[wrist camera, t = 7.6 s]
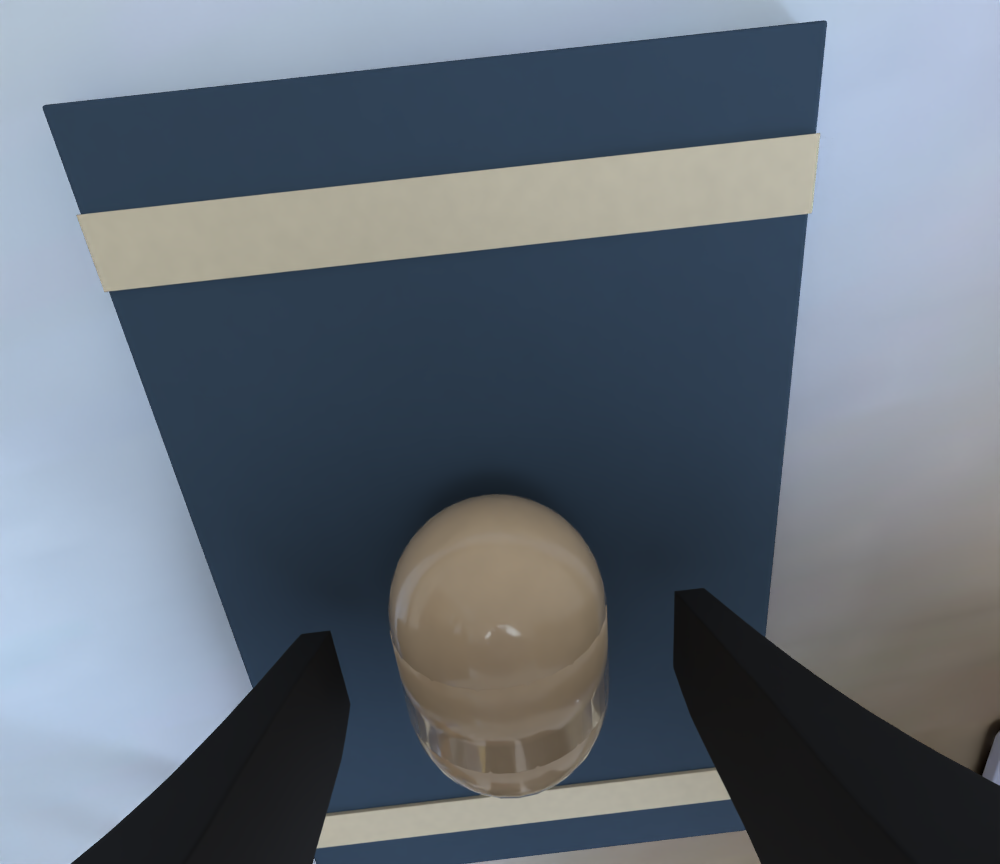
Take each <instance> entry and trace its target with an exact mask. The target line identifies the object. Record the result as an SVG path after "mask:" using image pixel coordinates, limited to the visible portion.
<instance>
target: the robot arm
mask: <svg viewBox="0 0 1000 864" xmlns="http://www.w3.org/2000/svg"><path fill="white" fill-rule="evenodd" d="M673 668H674V671H675V674H676V677H677V680H678V683H679V686H680V689H681V692H682V694H683V697H684V700H685V702H686V705H687V708H688V711H689V713H690V716H691V718H692V720H693V722H694V725H695V727H696V729H697V731H698V733H699V735H700V737H701V739H702V741H703V743H704V745H705V747H706V749H707V752H708V754H709V756H710V758H711V760H712V762H713V764H714V766H715V768H716V770H717V772H718V774H719V776H720V778H721V780H722V782H723V784H724V786H725V788H726V790H727V792H728V794H729V796H730V798H731V800H732V802H733V805H734V807H735V809H736V811H737V813H738V815H739V817H740V819H741V821H742V823H743V825H744V827H745V829H746V831H747V833H748V835H749V837H750V839H751V842H752V844H753V846H754V848H755V851H756V853H757V855H758V857H759V860H760V862H761V864H1000V731H999V732H998V733H997V734H996V736H995V739H994V742H993V745H992V748H991V751H990V754H989V757H988V760H987V763H986V766H985V769H984V772H983V775H982V776H981V775H979V774H977V773H975V772H973V771H971V770H970V769H968V768H966V767H964V766H962V765H960V764H958V763H957V762H955V761H953V760H951V759H949V758H947V757H945V756H944V755H942V754H940V753H938V752H936V751H935V750H933V749H931V748H929V747H928V746H926V745H924V744H922V743H921V742H919V741H917V740H916V739H914V738H912V737H910V736H909V735H907V734H906V733H904V732H902V731H901V730H899V729H897V728H896V727H894V726H892V725H891V724H889V723H888V722H886V721H884V720H883V719H881V718H879V717H878V716H876V715H874V714H873V713H871V712H870V711H868V710H866V709H865V708H863V707H862V706H860V705H859V704H857V703H856V702H854V701H853V700H851V699H850V698H848V697H847V696H845V695H844V694H842V693H841V692H839V691H838V690H836V689H835V688H834V687H832V686H831V685H829V684H828V683H826V682H825V681H823V680H822V679H821V678H819V677H818V676H816V675H815V674H813V673H812V672H811V671H809V670H808V669H806V668H805V667H804V666H802V665H801V664H800V663H798V662H797V661H795V660H794V659H793V658H791V657H790V656H789V655H787V654H786V653H785V652H784V651H782V650H781V649H780V648H778V647H777V646H776V645H774V644H773V643H772V642H770V641H769V640H768V639H767V638H765V637H764V636H763V635H761V634H760V633H759V632H758V631H756V630H755V629H754V628H753V627H751V626H750V625H749V624H748V623H746V622H745V621H744V620H743V619H742V618H740V617H739V616H738V615H737V614H735V613H734V612H733V611H732V610H730V609H729V608H728V607H727V606H726V605H724V604H723V603H722V602H721V601H719V600H718V599H717V598H716V597H714V596H713V595H712V594H711V593H710V592H708V591H707V590H706V589H704V588H698V589H689V590H681V591H675V593H674V643H673ZM350 705H351V704H350V700H349V696H348V693H347V689H346V685H345V682H344V678H343V675H342V671H341V667H340V664H339V660H338V657H337V653H336V649H335V646H334V642H333V638H332V635H331V631H322V632H314V633H305V634H301V635H300V636H299V637H298V638H297V639H296V640H295V641H294V642H293V644H292V645H291V646H290V647H289V648H288V649H287V650H286V652H285V653H284V654H283V655H282V656H281V657H280V658H279V660H278V661H277V662H276V663H275V664H274V665H273V666H272V668H271V669H270V670H269V671H268V672H267V673H266V674H265V676H264V677H263V678H262V679H261V680H260V681H259V682H258V683H257V685H256V686H255V687H254V688H253V689H252V690H251V691H250V693H249V694H248V695H247V696H246V697H245V698H244V699H243V700H242V701H241V703H240V704H239V705H238V706H237V707H236V708H235V709H234V710H233V711H232V712H231V714H230V715H229V716H228V717H227V718H226V719H225V720H224V721H223V722H222V723H221V724H220V725H219V726H218V727H217V729H216V730H215V731H214V732H213V733H212V734H211V735H210V736H209V737H208V738H207V739H206V740H205V741H204V742H203V743H202V744H201V745H200V746H199V747H198V748H197V749H196V750H195V751H194V752H193V753H192V754H191V755H190V756H189V757H188V758H187V759H186V760H185V762H184V763H183V764H182V765H181V766H180V767H179V768H178V769H177V770H176V771H175V772H174V773H173V774H172V775H171V776H169V777H168V778H167V779H166V780H165V781H164V782H163V783H162V784H161V785H160V786H159V787H158V788H157V789H156V790H155V791H154V792H153V793H152V794H151V795H150V796H148V797H147V798H146V799H145V800H144V801H143V802H142V803H141V804H140V805H139V806H137V807H136V808H135V809H134V810H133V811H132V812H131V813H130V814H129V815H127V816H126V817H125V818H124V819H123V820H122V821H121V822H120V823H119V824H118V825H116V826H115V827H114V828H113V829H112V830H111V831H110V832H108V833H107V834H106V835H105V836H104V837H103V838H101V839H100V840H99V841H98V842H97V843H95V844H94V845H93V846H92V847H91V848H89V849H88V850H87V851H86V852H84V853H83V854H82V855H81V856H80V857H78V858H77V859H76V860H75V861H74V862H72V863H71V864H312V863H313V859H314V856H315V852H316V849H317V845H318V842H319V838H320V835H321V831H322V828H323V824H324V821H325V817H326V814H327V810H328V807H329V803H330V799H331V796H332V792H333V789H334V785H335V781H336V778H337V774H338V771H339V767H340V763H341V759H342V755H343V749H344V743H345V738H346V732H347V725H348V719H349V712H350Z"/></svg>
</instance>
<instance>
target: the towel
mask: <svg viewBox="0 0 1000 864" xmlns="http://www.w3.org/2000/svg"><path fill="white" fill-rule="evenodd" d="M826 27H827V22H826V21H815V22H806V23H796V24H787V25H778V26H769V27H759V28H750V29H741V30H732V31H723V32H713V33H704V34H695V35H686V36H677V37H667V38H658V39H649V40H640V41H630V42H621V43H612V44H603V45H594V46H584V47H575V48H566V49H557V50H548V51H538V52H529V53H520V54H511V55H502V56H492V57H483V58H474V59H465V60H455V61H446V62H437V63H428V64H419V65H409V66H400V67H391V68H382V69H373V70H363V71H354V72H345V73H336V74H327V75H317V76H308V77H299V78H290V79H280V80H271V81H262V82H253V83H244V84H234V85H225V86H216V87H207V88H198V89H188V90H179V91H170V92H161V93H151V94H142V95H133V96H124V97H115V98H105V99H96V100H87V101H78V102H69V103H59V104H50V105H44V106H43V111H44V113H45V116H46V119H47V122H48V124H49V127H50V130H51V133H52V135H53V138H54V141H55V144H56V146H57V149H58V152H59V155H60V157H61V160H62V163H63V166H64V169H65V171H66V174H67V177H68V180H69V182H70V185H71V188H72V191H73V193H74V196H75V199H76V202H77V204H78V207H79V210H80V213H81V214H80V215H77V218H78V221H79V224H80V226H81V229H82V232H83V234H84V237H85V240H86V243H87V245H88V248H89V251H90V254H91V256H92V259H93V262H94V265H95V267H96V270H97V273H98V276H99V278H100V281H101V284H102V286H103V289H104V292H109V293H110V295H111V298H112V301H113V304H114V306H115V309H116V312H117V315H118V318H119V320H120V323H121V326H122V329H123V331H124V334H125V337H126V340H127V342H128V345H129V348H130V351H131V353H132V356H133V359H134V362H135V364H136V367H137V370H138V373H139V375H140V378H141V381H142V384H143V387H144V389H145V392H146V395H147V398H148V400H149V403H150V406H151V409H152V411H153V414H154V417H155V420H156V422H157V425H158V428H159V431H160V433H161V436H162V439H163V442H164V444H165V447H166V450H167V453H168V456H169V458H170V461H171V464H172V467H173V469H174V472H175V475H176V478H177V480H178V483H179V486H180V489H181V491H182V494H183V497H184V500H185V502H186V505H187V508H188V511H189V513H190V516H191V519H192V522H193V524H194V527H195V530H196V533H197V536H198V538H199V541H200V544H201V547H202V549H203V552H204V555H205V558H206V560H207V563H208V566H209V569H210V571H211V574H212V577H213V580H214V582H215V585H216V588H217V591H218V593H219V596H220V599H221V602H222V605H223V607H224V610H225V613H226V616H227V618H228V621H229V624H230V627H231V629H232V632H233V635H234V638H235V640H236V643H237V646H238V649H239V651H240V654H241V657H242V660H243V662H244V665H245V668H246V671H247V674H248V676H249V679H250V682H251V685H252V687H253V688H254V687H255V686H256V685H257V683H258V682H259V681H260V680H261V679H262V678H263V677H264V676H265V674H266V673H267V672H268V671H269V670H270V669H271V668H272V666H273V665H274V664H275V663H276V662H277V661H278V660H279V658H280V657H281V656H282V655H283V654H284V653H285V652H286V650H287V649H288V648H289V647H290V646H291V645H292V644H293V642H294V641H295V640H296V639H297V638H298V637H299V636H300V635H301V634H305V633H314V632H322V631H331V635H332V638H333V642H334V646H335V649H336V653H337V657H338V660H339V664H340V667H341V671H342V675H343V678H344V682H345V685H346V689H347V693H348V696H349V700H350V704H351V705H350V712H349V719H348V725H347V732H346V738H345V743H344V749H343V755H342V759H341V763H340V767H339V771H338V774H337V778H336V781H335V785H334V789H333V792H332V796H331V799H330V803H329V807H328V810H327V814H326V817H325V821H324V824H323V828H322V831H321V835H320V838H319V842H318V845H317V849H316V852H315V856H314V858H315V861H316V864H466V863H475V862H483V861H492V860H500V859H508V858H517V857H525V856H533V855H542V854H550V853H559V852H567V851H575V850H584V849H592V848H600V847H609V846H617V845H626V844H634V843H642V842H651V841H659V840H668V839H676V838H684V837H693V836H701V835H709V834H718V833H726V832H735V831H743V830H746V829H745V827H744V825H743V823H742V821H741V819H740V817H739V815H738V813H737V811H736V809H735V807H734V805H733V802H732V800H731V798H730V796H729V794H728V792H727V790H726V788H725V786H724V784H723V782H722V780H721V778H720V776H719V774H718V772H717V770H716V768H715V766H714V764H713V762H712V760H711V758H710V756H709V754H708V752H707V749H706V747H705V745H704V743H703V741H702V739H701V737H700V735H699V733H698V731H697V729H696V727H695V725H694V722H693V720H692V718H691V716H690V713H689V711H688V708H687V705H686V702H685V700H684V697H683V694H682V692H681V689H680V686H679V683H678V680H677V677H676V674H675V671H674V668H673V643H674V593H675V591H681V590H689V589H698V588H704V589H706V590H707V591H708V592H710V593H711V594H712V595H713V596H714V597H716V598H717V599H718V600H719V601H721V602H722V603H723V604H724V605H726V606H727V607H728V608H729V609H730V610H732V611H733V612H734V613H735V614H737V615H738V616H739V617H740V618H742V619H743V620H744V621H745V622H746V623H748V624H749V625H750V626H751V627H753V628H754V629H755V630H756V631H758V632H759V633H760V634H761V635H763V636H764V637H765V635H766V625H767V615H768V605H769V595H770V585H771V575H772V565H773V555H774V545H775V535H776V525H777V515H778V505H779V495H780V485H781V475H782V465H783V455H784V445H785V435H786V426H787V416H788V406H789V396H790V386H791V376H792V366H793V356H794V346H795V336H796V326H797V316H798V306H799V296H800V286H801V276H802V266H803V256H804V246H805V236H806V226H807V217H808V214H811V213H812V208H813V198H814V188H815V178H816V169H817V159H818V149H819V140H820V133H816V127H817V117H818V107H819V97H820V87H821V77H822V67H823V57H824V47H825V37H826ZM486 494H510V495H518V496H522V497H526V498H529V499H531V500H534V501H536V502H538V503H541V504H543V505H545V506H548V507H550V508H551V509H553V510H554V511H556V512H557V513H559V514H560V515H561V516H562V517H564V518H565V519H566V520H567V521H568V522H570V523H571V524H572V525H573V526H574V527H575V528H576V529H577V530H578V532H579V533H580V534H581V536H582V537H583V538H584V540H585V541H586V542H587V544H588V545H589V547H590V549H591V551H592V552H593V554H594V556H595V559H596V561H597V563H598V566H599V568H600V570H601V574H602V578H603V583H604V589H605V595H606V601H607V625H608V652H609V679H610V688H609V697H608V707H607V714H606V717H605V720H604V723H603V726H602V729H601V732H600V734H599V736H598V739H597V741H596V743H595V745H594V746H593V748H592V750H591V751H590V753H589V755H588V756H587V758H586V759H585V760H584V761H583V762H582V763H581V764H580V765H579V766H578V767H577V768H576V769H575V770H574V771H573V772H572V773H571V774H570V775H569V776H568V777H567V778H565V779H564V780H563V781H561V782H560V783H558V784H557V785H555V786H554V787H552V788H550V789H548V790H545V791H543V792H541V793H538V794H536V795H531V796H527V797H522V798H503V799H500V798H495V797H490V796H484V795H481V794H479V793H476V792H474V791H472V790H469V789H467V788H465V787H463V786H461V785H459V784H457V783H456V782H454V781H453V780H452V779H450V778H449V777H447V776H446V775H445V774H443V773H442V771H441V770H440V769H439V768H438V767H437V766H436V765H435V763H434V762H433V761H432V760H431V759H430V757H429V756H428V755H427V754H426V752H425V751H424V750H423V748H422V746H421V744H420V742H419V740H418V738H417V736H416V734H415V732H414V729H413V726H412V724H411V721H410V718H409V714H408V710H407V706H406V701H405V697H404V693H403V688H402V684H401V679H400V675H399V671H398V666H397V662H396V657H395V653H394V648H393V644H392V640H391V635H390V628H389V618H388V602H389V593H390V586H391V579H392V576H393V574H394V571H395V569H396V566H397V564H398V561H399V559H400V556H401V554H402V551H403V550H404V548H405V547H406V545H407V544H408V543H409V541H410V540H411V539H412V537H413V536H414V534H415V533H416V532H417V530H418V529H419V528H420V527H421V526H422V525H423V524H424V523H425V522H426V521H428V520H429V519H430V518H431V517H433V516H434V515H435V514H436V513H438V512H439V511H441V510H442V509H444V508H445V507H447V506H449V505H451V504H453V503H455V502H458V501H461V500H464V499H467V498H471V497H475V496H479V495H486Z"/></svg>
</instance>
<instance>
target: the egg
mask: <svg viewBox="0 0 1000 864" xmlns="http://www.w3.org/2000/svg"><path fill="white" fill-rule="evenodd" d="M388 618H389V628H390V635H391V640H392V644H393V648H394V653H395V657H396V662H397V666H398V671H399V675H400V679H401V684H402V688H403V693H404V697H405V701H406V706H407V710H408V714H409V718H410V721H411V724H412V726H413V729H414V732H415V734H416V736H417V738H418V740H419V742H420V744H421V746H422V748H423V750H424V751H425V752H426V754H427V755H428V756H429V757H430V759H431V760H432V761H433V762H434V763H435V765H436V766H437V767H438V768H439V769H440V770H441V771H442V773H443V774H445V775H446V776H447V777H449V778H450V779H452V780H453V781H454V782H456V783H457V784H459V785H461V786H463V787H465V788H467V789H469V790H472V791H474V792H476V793H479V794H481V795H484V796H490V797H495V798H500V799H503V798H522V797H527V796H531V795H536V794H538V793H541V792H543V791H545V790H548V789H550V788H552V787H554V786H555V785H557V784H558V783H560V782H561V781H563V780H564V779H565V778H567V777H568V776H569V775H570V774H571V773H572V772H573V771H574V770H575V769H576V768H577V767H578V766H579V765H580V764H581V763H582V762H583V761H584V760H585V759H586V758H587V756H588V755H589V753H590V751H591V750H592V748H593V746H594V745H595V743H596V741H597V739H598V736H599V734H600V732H601V729H602V726H603V723H604V720H605V717H606V714H607V707H608V697H609V688H610V679H609V652H608V625H607V601H606V595H605V589H604V583H603V578H602V574H601V570H600V568H599V566H598V563H597V561H596V559H595V556H594V554H593V552H592V551H591V549H590V547H589V545H588V544H587V542H586V541H585V540H584V538H583V537H582V536H581V534H580V533H579V532H578V530H577V529H576V528H575V527H574V526H573V525H572V524H571V523H570V522H568V521H567V520H566V519H565V518H564V517H562V516H561V515H560V514H559V513H557V512H556V511H554V510H553V509H551V508H550V507H548V506H545V505H543V504H541V503H538V502H536V501H534V500H531V499H529V498H526V497H522V496H518V495H510V494H486V495H479V496H475V497H471V498H467V499H464V500H461V501H458V502H455V503H453V504H451V505H449V506H447V507H445V508H444V509H442V510H441V511H439V512H438V513H436V514H435V515H434V516H433V517H431V518H430V519H429V520H428V521H426V522H425V523H424V524H423V525H422V526H421V527H420V528H419V529H418V530H417V532H416V533H415V534H414V536H413V537H412V539H411V540H410V541H409V543H408V544H407V545H406V547H405V548H404V550H403V551H402V554H401V556H400V559H399V561H398V564H397V566H396V569H395V571H394V574H393V576H392V579H391V586H390V593H389V602H388Z"/></svg>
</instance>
